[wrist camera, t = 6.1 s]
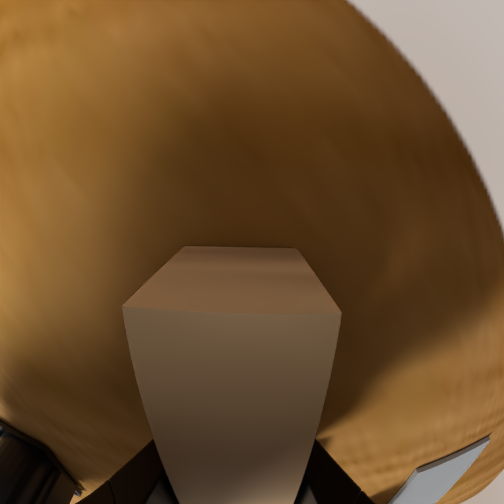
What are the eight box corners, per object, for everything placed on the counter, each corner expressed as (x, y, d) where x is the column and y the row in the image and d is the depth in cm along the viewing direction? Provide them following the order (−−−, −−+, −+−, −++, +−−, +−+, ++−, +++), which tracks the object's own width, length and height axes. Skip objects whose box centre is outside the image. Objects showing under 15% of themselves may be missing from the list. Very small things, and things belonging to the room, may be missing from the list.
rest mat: (355, 536, 14) (355, 539, 13) (415, 469, 11) (417, 473, 10) (416, 516, 14) (417, 519, 13) (488, 436, 11) (490, 439, 10)
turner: (134, 245, 7) (45, 296, 4) (349, 249, 7) (429, 307, 4) (183, 488, 10) (172, 546, 7) (297, 492, 10) (305, 551, 7)
